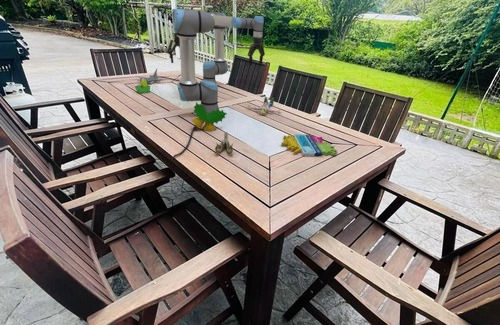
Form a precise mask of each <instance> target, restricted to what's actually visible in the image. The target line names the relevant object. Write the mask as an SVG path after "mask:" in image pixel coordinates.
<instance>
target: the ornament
mask: <svg viewBox="0 0 500 325" xmlns="http://www.w3.org/2000/svg"><path fill="white" fill-rule="evenodd" d="M219 110H220V108H219V109H217V110H216V111H214V110H212V112H211V113H208V112H206V109H204V106H201V103H198V101H195V105H194V106H193V112H194V113H195V118H192V119H191V122H192V123H193V125H194V126H196V127H197V128H198V129H202V130H203V131H206V132H212V131H213V132H214V131H215V130H216V126H215V124H218V123H219V122H223V119H226V115H227V114H228V113H227V112H224V110H223V109H221V110H220V111H219ZM207 113H208V115H207ZM214 123H215V124H214Z"/></svg>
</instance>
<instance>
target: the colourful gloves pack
mask: <svg viewBox="0 0 500 325" xmlns="http://www.w3.org/2000/svg"><path fill="white" fill-rule="evenodd" d="M280 145H281V146H282V147H286V150H287V151H289V150H290V152H293V151H294V152H293V154H294V155H298V153H300V152H301V154H302V156H304V157H322V156H328V155H331V156H333V157H334V156H336V154H337V152H338V150H337V149H335V145H329V143H328V142H327V141H324V142H323V137H322V136H319V137H317V136H316V135H311V134H305V133H302V134H301V133H295V134H293V135H289V134H288V135H283V141H282V142H281V144H280Z"/></svg>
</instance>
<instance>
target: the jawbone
mask: <svg viewBox="0 0 500 325" xmlns="http://www.w3.org/2000/svg"><path fill="white" fill-rule="evenodd" d="M223 135H224V136H223V140H222V139H221V142H220V144H218V142H215V144H216V146H215V148H214V149H215V152H214V154H215V155H217V156H218V155H220V153H221V152H223V151H224V150H226V152H227V153H228V155H229V156H233V155H234V154H233V153H234V148H233V144H234V143H230V140H228V139H229V138H228V137H229V136H228V135H229V133H228V131H226V132H224V134H223Z"/></svg>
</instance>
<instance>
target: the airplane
mask: <svg viewBox="0 0 500 325" xmlns="http://www.w3.org/2000/svg"><path fill="white" fill-rule="evenodd" d="M148 76H149V77H147V76H135V78H138V79H139V83H138V84H137V85H136V86H140V85H141V84H140V83H141V81H142V80H146V82H147V85H152V84H154V83H155V82H157V83H160V82H161V81H167V78H163V79H162V77H164V76H161V75H158V68H156V69H155V71H154V72H153V74H152V75H151V74H149V75H148Z"/></svg>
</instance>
